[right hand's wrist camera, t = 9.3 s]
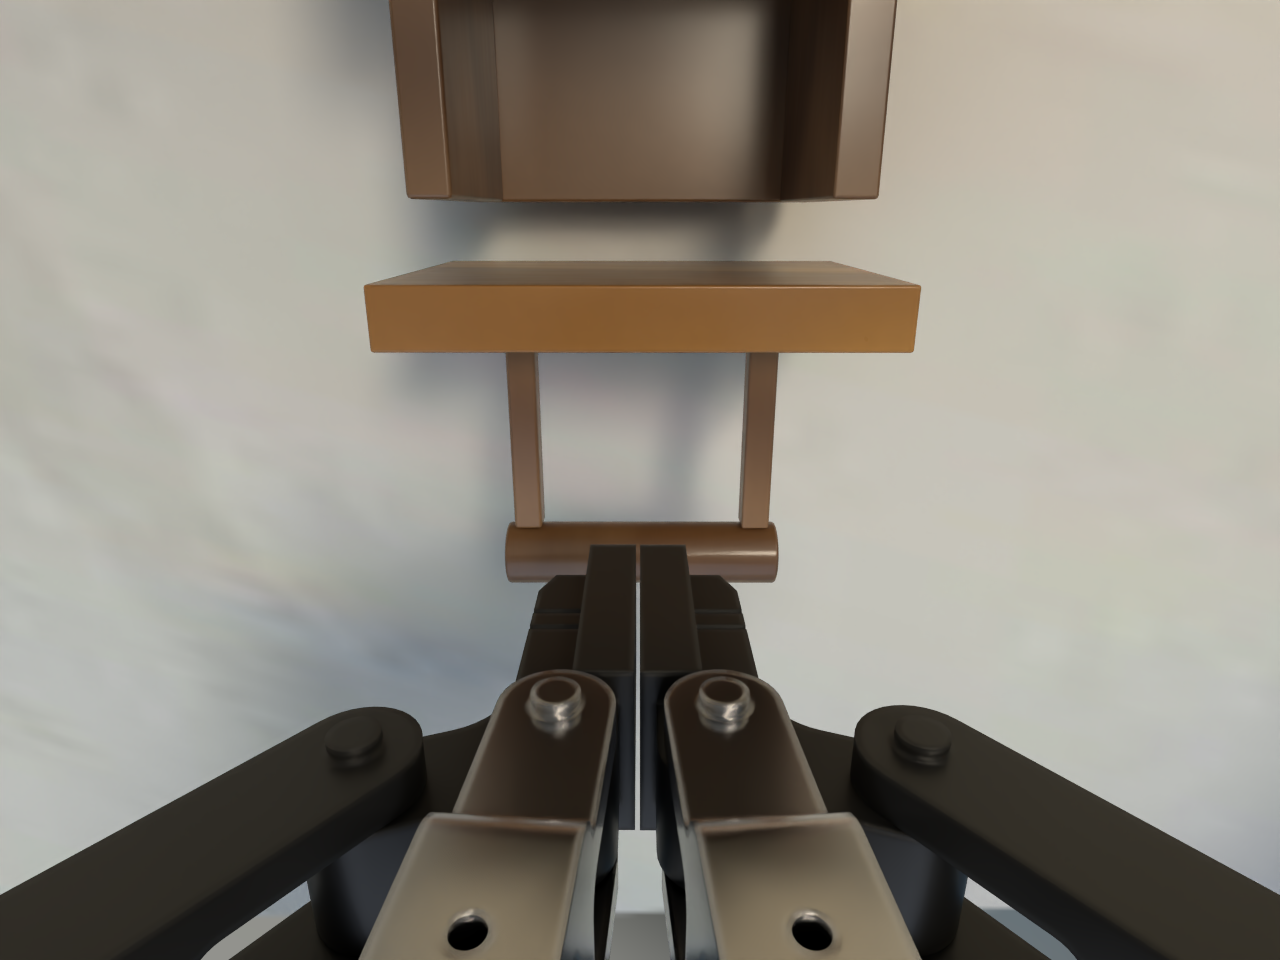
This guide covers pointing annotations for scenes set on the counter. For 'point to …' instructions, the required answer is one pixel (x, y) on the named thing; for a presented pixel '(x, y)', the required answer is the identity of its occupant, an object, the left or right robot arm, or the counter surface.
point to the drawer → (642, 172)
